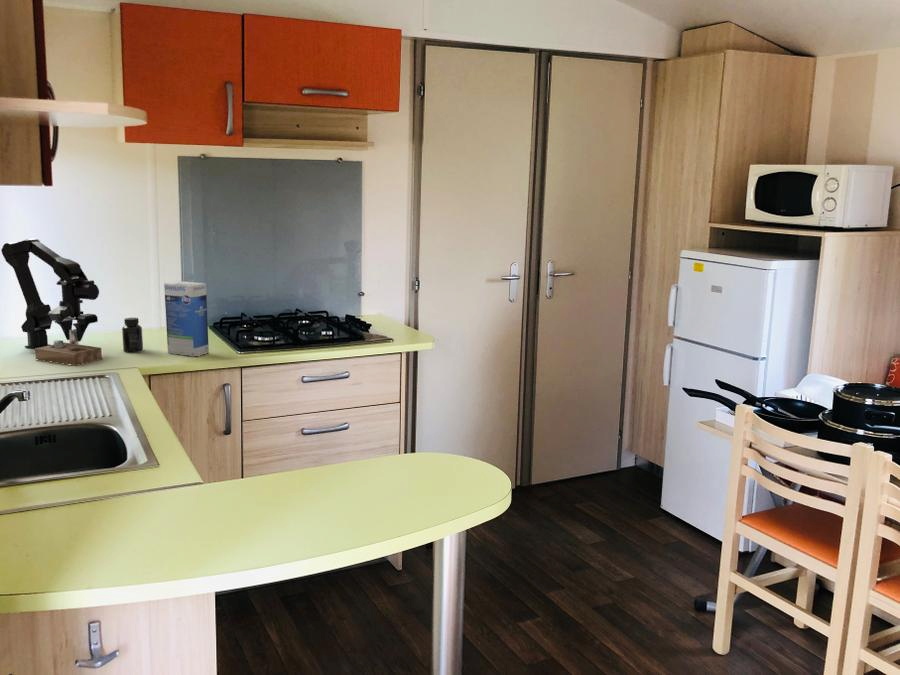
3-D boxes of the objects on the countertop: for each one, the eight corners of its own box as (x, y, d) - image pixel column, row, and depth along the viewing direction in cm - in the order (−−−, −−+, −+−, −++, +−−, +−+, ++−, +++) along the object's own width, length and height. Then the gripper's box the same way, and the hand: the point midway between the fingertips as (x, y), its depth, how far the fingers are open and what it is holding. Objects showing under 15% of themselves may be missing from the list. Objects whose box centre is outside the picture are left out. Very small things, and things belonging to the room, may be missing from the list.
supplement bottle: (146, 349, 318) (144, 317, 316) (138, 353, 311) (136, 320, 309) (128, 348, 319) (126, 316, 316) (119, 352, 312) (118, 319, 310)
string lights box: (209, 353, 314) (207, 283, 308) (196, 357, 307) (193, 285, 302) (180, 349, 319) (177, 280, 313) (166, 353, 312) (163, 282, 306)
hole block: (74, 365, 291) (73, 354, 290) (35, 359, 298) (34, 348, 297) (101, 358, 302) (101, 347, 301) (63, 353, 308) (62, 342, 308)
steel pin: (68, 351, 311) (66, 330, 309) (74, 350, 314) (73, 328, 312) (74, 352, 310) (73, 330, 308) (81, 351, 312) (79, 329, 311)
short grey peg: (52, 358, 301) (51, 341, 299) (59, 356, 303) (58, 340, 302) (59, 359, 299) (58, 342, 298) (66, 357, 302) (64, 340, 301)
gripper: (33, 298, 304) (36, 342, 307) (72, 303, 297) (75, 347, 300) (58, 294, 314) (61, 336, 317) (97, 298, 307) (100, 341, 310)
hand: (73, 340), depth 311 cm, fingers open, 5 cm apart
